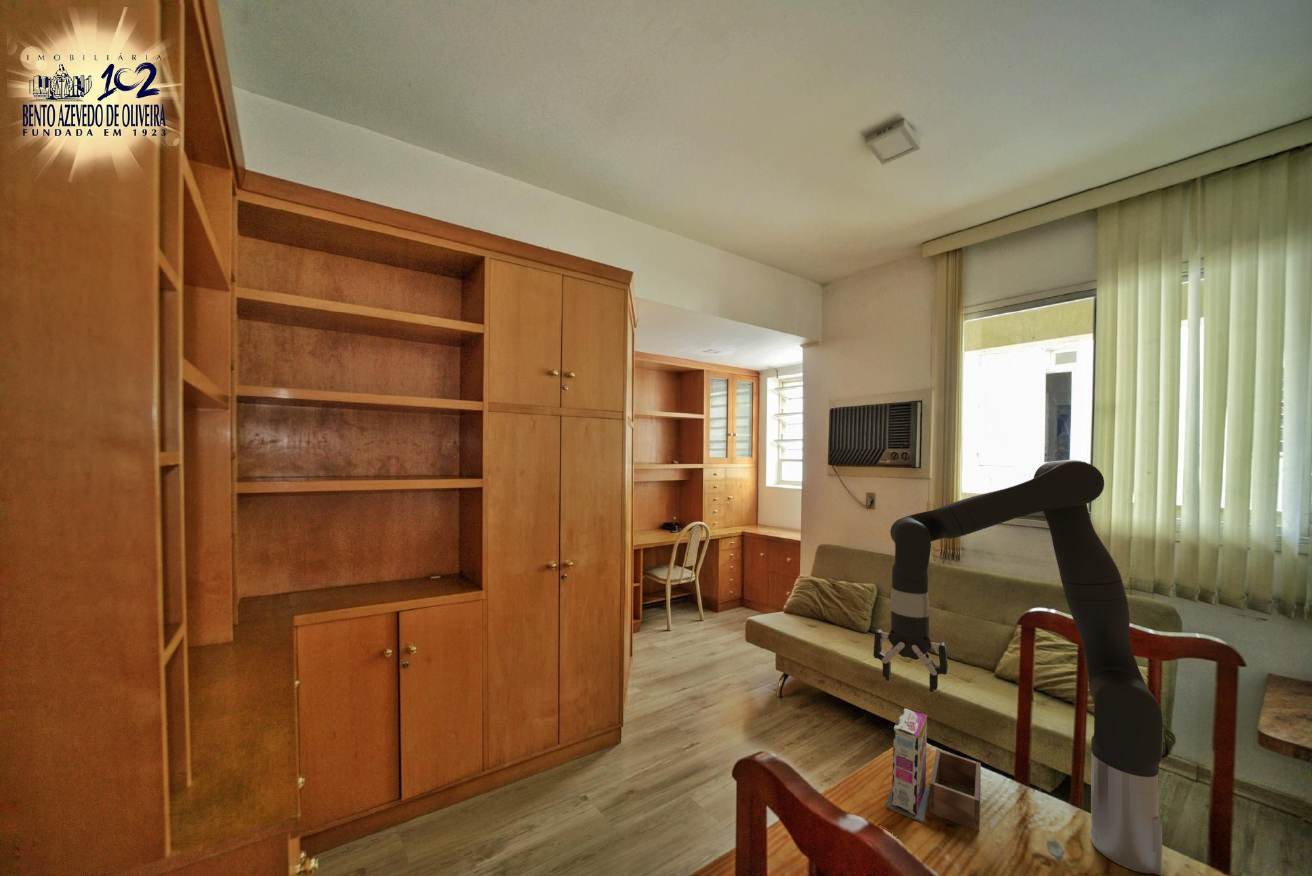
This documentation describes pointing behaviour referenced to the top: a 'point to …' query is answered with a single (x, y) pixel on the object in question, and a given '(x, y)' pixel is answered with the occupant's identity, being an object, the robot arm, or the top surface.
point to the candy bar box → (909, 761)
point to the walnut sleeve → (953, 801)
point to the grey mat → (921, 810)
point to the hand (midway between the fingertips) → (909, 684)
